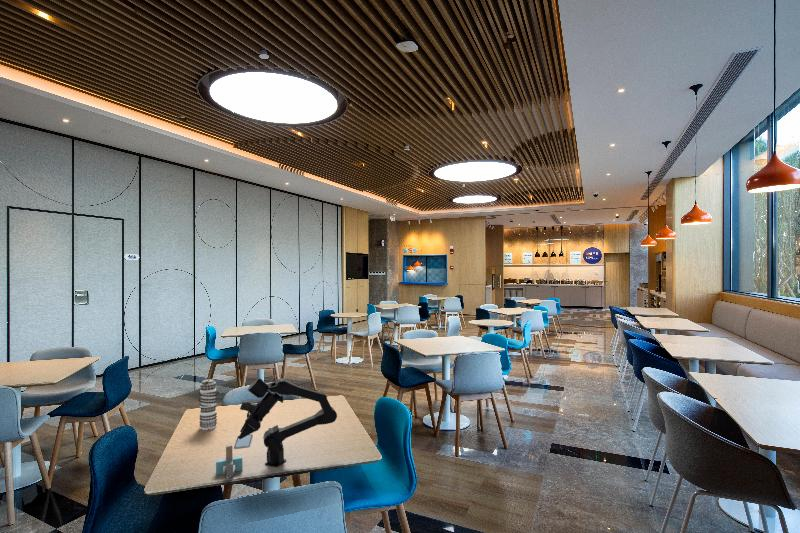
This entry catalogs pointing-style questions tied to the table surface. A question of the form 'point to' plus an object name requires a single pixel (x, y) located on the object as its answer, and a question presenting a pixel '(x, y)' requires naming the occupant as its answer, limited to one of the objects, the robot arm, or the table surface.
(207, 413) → the decorative candle
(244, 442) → the smartphone
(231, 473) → the slotted bar
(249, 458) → the table surface
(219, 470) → the blue brown t-shaped block
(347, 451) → the table surface
